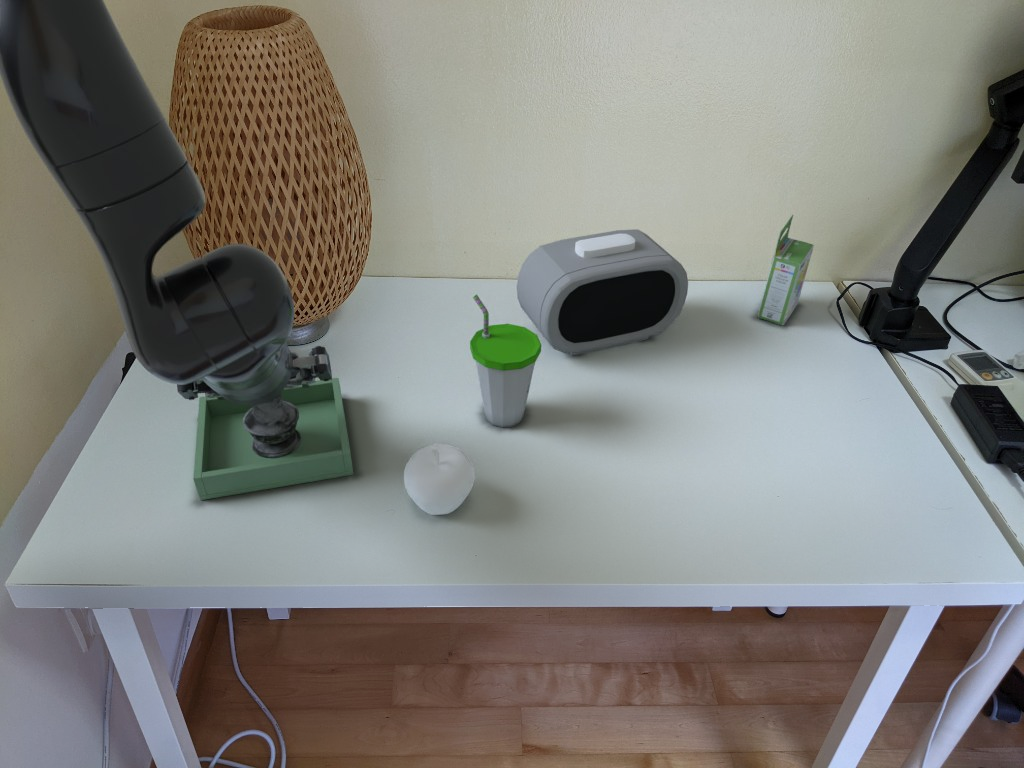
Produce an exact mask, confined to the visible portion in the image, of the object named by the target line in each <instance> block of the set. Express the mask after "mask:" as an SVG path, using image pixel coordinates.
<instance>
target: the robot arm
mask: <svg viewBox="0 0 1024 768" xmlns="http://www.w3.org/2000/svg"><path fill="white" fill-rule="evenodd" d="M0 79H1V81H2V84H3V87H4V89H5V92H6V94H7V97H8V100H9V102H10V105H11V106H12V110H13V112H14V114H15V116H16V118H17V120H18V122H19V124H20V126H21V128H22V130H23V132H24V133H25V135H26V137H27V139H28V140H29V142H30V144H31V145H32V148H33V149H34V151H35V152H36V154H37V155H38V157H39V158H40V160H41V161H42V163H43V164H44V166H45V167H46V169H47V171H48V172H49V174H50V175H51V176H52V178H53V180H54V181H55V182H56V184H57V185H58V187H59V188H60V190H61V192H62V193H63V195H64V196H65V198H66V199H67V201H68V203H69V204H70V205H71V206H72V208H73V209H74V211H75V212H76V214H77V216H78V217H79V219H80V221H81V223H82V224H83V226H84V227H85V229H86V231H87V232H88V234H89V236H90V237H91V239H92V241H93V244H94V245H95V247H96V249H97V251H98V253H99V255H100V257H101V261H102V262H103V265H104V267H105V270H106V273H107V275H108V277H109V281H110V283H111V287H112V290H113V292H114V296H115V299H116V303H117V306H118V310H119V313H120V317H121V320H122V325H123V328H124V332H125V334H126V338H127V339H128V343H129V345H130V348H131V349H132V352H133V354H134V357H135V358H136V359H137V361H138V363H139V364H140V365H141V366H142V367H143V368H144V369H145V370H146V371H147V372H148V373H150V374H151V375H152V376H154V377H155V378H158V379H159V380H161V381H163V382H165V383H169V384H173V385H176V388H177V389H176V390H177V393H178V394H179V395H180V396H181V397H183V399H184V400H189V401H192V400H195V399H199V394H204V396H205V397H209V398H215V397H217V398H218V399H219V400H223V399H226V400H228V401H230V402H232V403H235V404H238V405H244V406H254V405H260V404H263V403H266V402H268V401H270V400H272V399H274V398H275V397H276V396H278V395H279V394H280V393H281V392H282V391H283V390H284V388H293V387H297V386H301V385H302V387H303V388H309V387H310V386H309V385H310V384H311V383H315V381H316V378H318V380H321V381H329V380H331V379H333V373H332V367H331V360H330V354H329V352H328V351H327V349H326V347H325V346H321V345H318V346H316V345H315V347H313V348H311V350H308V356H302V357H300V356H299V355H298V353H296V352H292V351H290V348H289V345H288V343H287V341H288V339H289V338H290V336H291V333H292V331H293V328H294V322H295V303H294V298H293V293H292V290H291V287H290V284H289V281H288V279H287V277H286V275H285V274H284V272H283V270H282V269H281V267H280V266H279V265H278V264H277V262H276V261H275V260H274V259H273V258H272V257H271V256H270V255H269V254H268V253H266V252H265V251H263V250H261V249H259V248H257V247H255V246H253V245H249V244H245V243H230V244H226V245H222V246H219V247H217V248H215V249H213V250H210V251H208V252H206V253H204V254H203V255H202V256H198V257H196V258H194V259H192V260H190V261H187V262H185V263H183V264H180V265H178V266H177V267H175V268H173V269H170V270H168V271H166V272H164V273H162V274H159V275H157V276H156V275H154V273H153V268H154V267H153V266H154V263H155V258H156V256H157V254H158V253H159V252H160V251H161V250H162V248H163V247H164V246H165V245H166V244H168V243H169V242H170V241H171V240H172V239H174V238H175V237H176V236H177V235H178V234H180V233H181V232H183V230H185V229H187V228H188V227H189V226H190V225H191V224H192V223H193V222H195V221H196V219H198V218H199V216H200V215H201V214H202V212H203V211H204V209H205V206H206V202H207V201H206V194H205V190H204V188H203V186H202V183H201V181H200V179H199V177H198V176H197V173H196V172H195V170H194V168H193V165H192V164H191V163H190V160H189V159H188V157H187V155H186V154H185V152H184V150H183V148H182V146H181V145H180V143H179V141H178V139H177V137H176V135H175V134H174V132H173V130H172V128H171V126H170V124H169V123H168V121H167V119H166V117H165V116H164V113H163V112H162V110H161V108H160V106H159V104H158V102H157V101H156V99H155V97H154V95H153V94H152V92H151V90H150V88H149V86H148V85H147V83H146V80H145V79H144V77H143V75H142V74H141V71H140V69H139V68H138V66H137V64H136V62H135V61H134V58H133V56H132V54H131V53H130V51H129V48H128V47H127V45H126V43H125V41H124V39H123V37H122V35H121V34H120V32H119V29H118V28H117V26H116V24H115V22H114V19H113V17H112V15H111V13H110V11H109V9H108V7H107V5H106V3H105V1H104V0H0Z"/></svg>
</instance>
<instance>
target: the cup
mask: <svg viewBox="0 0 1024 768" xmlns="http://www.w3.org/2000/svg"><path fill="white" fill-rule="evenodd" d="M472 298H473V300H474V302H475V303H476V305H477V306H478V307H479V309H480V310H481V312H482V314H483V328H481V329H480V330H477V331H475V333H474V335H473V336H472V338H471V339H470V341H469V350H470V353H471V355H472V359H473V360H474V361H475V364H476V365H475V366H476V370H477V377H478V382H479V389H480V396H481V400H482V406H483V412H484V413H483V414H484V417H485V420H486V421H487V422H488V423H489V424H490V425H492V426H493V427H499V428H511V427H514V426H516V425H518V424H520V423H522V421H523V418H524V416H525V411H526V407H527V401H528V397H529V393H530V389H531V385H532V384H531V382H532V378H533V374H534V369H535V364H536V362H537V360H538V358H539V356H540V354H541V352H542V343H541V340H540V339H539V336H538V334H537V333H535V332H534V331H532V330H531V329H529V328H527V327H525V326H521V325H515V324H511V323H501V324H492V325H489V324H490V323H489V322H490V321H489V320H490V317H489V316H490V315H489V311H488V309H487V307H486V306H485V304H484V303H483V301H482V300H481V299H480V297H479V296H478V294H477V293H476V294H474V295H473V296H472Z"/></svg>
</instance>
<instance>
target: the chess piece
mask: <svg viewBox="0 0 1024 768" xmlns="http://www.w3.org/2000/svg"><path fill="white" fill-rule="evenodd" d="M298 419H299V411H298V409H297V408H296V407H295V406H294V405H293V404H291V403H289V402H286V401H282V396H281V393H280V394H279V395H278V396H276V397H275V398H274V399H272V400H270V401H268V402H266V403H263V404H260V405H254V407H253V408H251V409H250V410H249V411H248V412H247V413H246V414H245V416H244V419H243V424H244V428H245V429H246V430H247V431H248V432H249V433H250V434H251V435H252V437H253V438H254V439H253V441H252V449H253V451H254V452H255V453H256V454H257V455H259V456H261V457H264V458H279V457H283V456H286V455H288V454H290V453H292V452H293V451H294V450H296V449H297V447H298V446H299V444H300V442H301V436H300V433H299V432H298V431H297V430H296V426H297V421H298Z"/></svg>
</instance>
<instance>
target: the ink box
mask: <svg viewBox="0 0 1024 768" xmlns="http://www.w3.org/2000/svg"><path fill="white" fill-rule="evenodd" d="M793 219H794V214H791V216H790V217H789V219H788V221H787V222H786V223H785V224H784V226H783V227H782V229H781V230H780V232H779V234H778V238H777V242H776V246H775V250H774V252H773V253H774V254H773V257H772V259H771V263H770V269H769V272H768V275H767V280H766V283H765V287H764V291H763V295H762V297H761V301H760V305H759V310H758V313H757V318H758V319H761V320H763V321H764V320H765V321H767V322H771V323H773V324H775V325H779V326H784V325H785V324H786V323H787V321H788V320H789V318H790V316H792V314H793V313H794V311H795V309H796V308H797V306H798V304H799V301H800V297H801V294H802V290H803V286H804V283H805V279H806V275H807V273H808V269H809V265H810V261H811V258H812V254H813V251H814V246H815V244H812V243H809V242H806V241H802V240H798V239H794V238H791V237H789V233H790V229H791V225H792V221H793Z"/></svg>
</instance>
